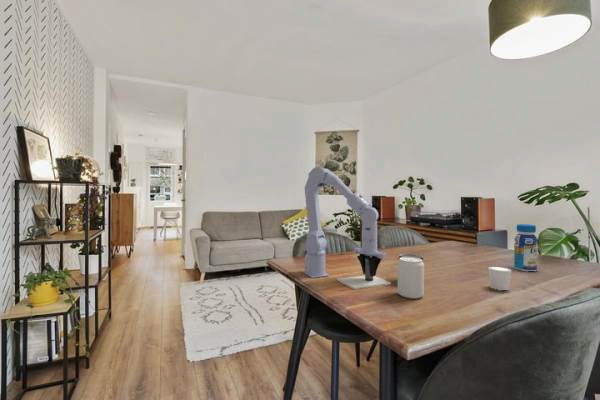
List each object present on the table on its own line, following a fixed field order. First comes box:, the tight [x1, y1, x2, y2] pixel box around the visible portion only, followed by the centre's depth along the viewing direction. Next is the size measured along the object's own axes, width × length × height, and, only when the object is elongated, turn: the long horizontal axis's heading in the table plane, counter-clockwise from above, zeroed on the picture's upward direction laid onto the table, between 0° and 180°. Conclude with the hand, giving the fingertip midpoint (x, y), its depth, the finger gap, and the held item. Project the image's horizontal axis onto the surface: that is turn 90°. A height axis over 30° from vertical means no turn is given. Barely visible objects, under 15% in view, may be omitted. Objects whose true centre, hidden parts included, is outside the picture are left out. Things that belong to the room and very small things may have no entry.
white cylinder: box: [488, 266, 512, 291], centre depth 106 cm, size 7×7×7 cm
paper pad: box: [336, 274, 392, 290], centre depth 112 cm, size 12×16×1 cm
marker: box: [364, 258, 373, 281], centre depth 113 cm, size 3×3×8 cm
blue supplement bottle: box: [513, 223, 539, 272], centre depth 132 cm, size 8×8×20 cm
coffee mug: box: [398, 252, 424, 263], centre depth 114 cm, size 12×9×10 cm
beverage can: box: [397, 257, 425, 300], centre depth 98 cm, size 8×8×12 cm
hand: (369, 274), depth 113 cm, fingers closed on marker, 3 cm apart
